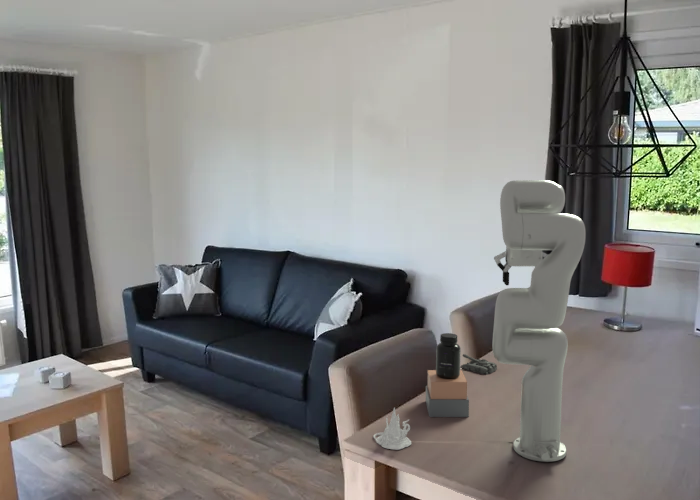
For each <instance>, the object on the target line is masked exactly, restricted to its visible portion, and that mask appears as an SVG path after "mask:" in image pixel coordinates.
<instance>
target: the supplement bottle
mask: <svg viewBox="0 0 700 500" xmlns="http://www.w3.org/2000/svg"><path fill="white" fill-rule="evenodd" d="M439 337H440V339H439V341H440V342H439V343H438V344H437V346H436V349H435V350H436V351H435V352H436V356H435V357H436V359H435V370H436V375H437V376H438V377H440V378H443V379H456V378H458V377H459V376H460V370H461V368H460V367H461V346H460V345H459V344H458V335H457V334H455V333H451V332H450V333H448V332H447V333H441V334H440V336H439Z"/></svg>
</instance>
